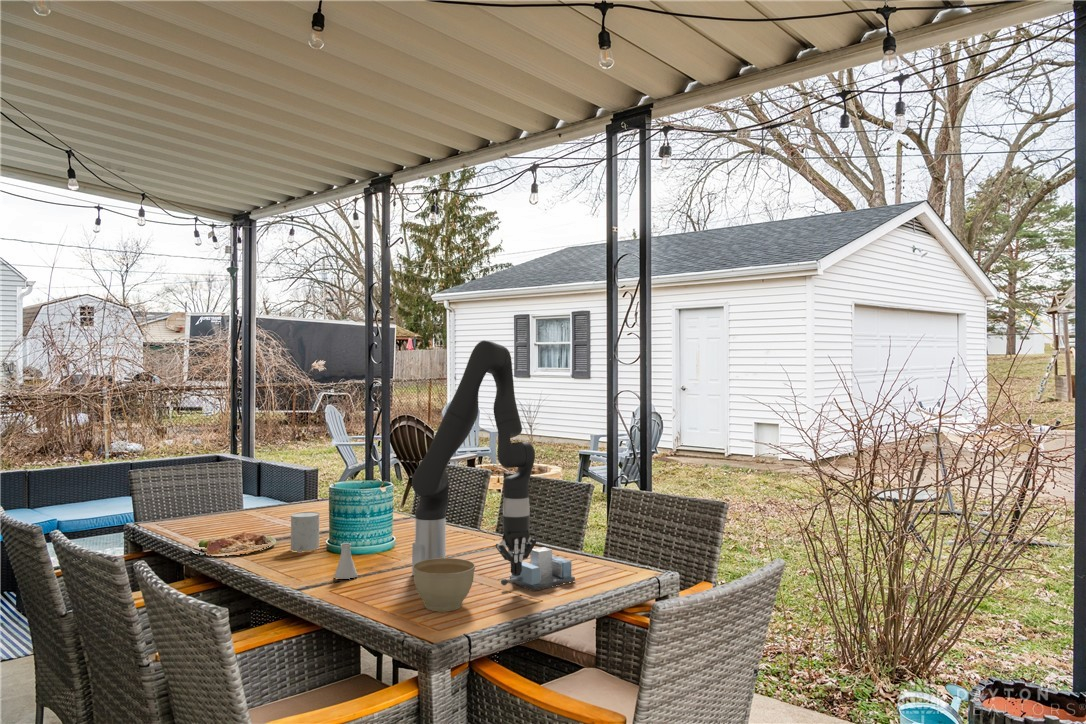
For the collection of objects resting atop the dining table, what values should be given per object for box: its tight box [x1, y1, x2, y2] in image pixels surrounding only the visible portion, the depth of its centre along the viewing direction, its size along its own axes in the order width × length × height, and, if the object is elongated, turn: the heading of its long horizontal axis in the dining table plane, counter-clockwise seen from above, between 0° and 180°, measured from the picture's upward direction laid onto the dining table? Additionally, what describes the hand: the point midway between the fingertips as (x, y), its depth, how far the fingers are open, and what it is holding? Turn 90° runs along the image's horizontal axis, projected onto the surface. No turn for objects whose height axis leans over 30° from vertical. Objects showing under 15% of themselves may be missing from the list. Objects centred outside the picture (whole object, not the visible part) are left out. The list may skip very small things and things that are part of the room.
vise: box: [509, 554, 576, 592], centre depth 212 cm, size 15×12×6 cm
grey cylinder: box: [290, 511, 320, 552], centre depth 251 cm, size 10×10×12 cm
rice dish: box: [190, 531, 277, 554], centre depth 253 cm, size 28×28×5 cm
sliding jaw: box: [500, 560, 541, 586], centre depth 206 cm, size 10×10×5 cm
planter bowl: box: [413, 557, 476, 613], centre depth 189 cm, size 16×16×11 cm
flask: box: [333, 542, 358, 580], centre depth 216 cm, size 7×7×10 cm
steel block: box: [529, 546, 553, 579], centre depth 212 cm, size 5×4×8 cm
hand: (516, 575), depth 202 cm, fingers closed
